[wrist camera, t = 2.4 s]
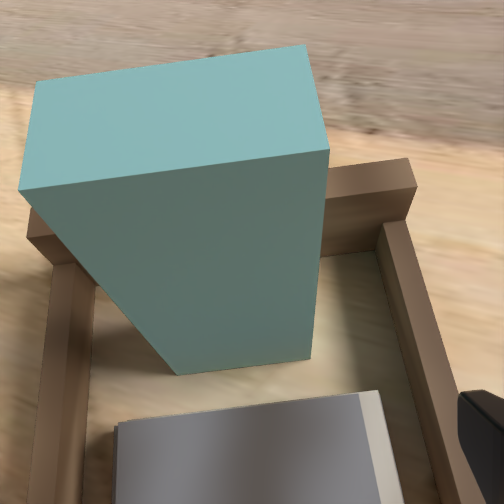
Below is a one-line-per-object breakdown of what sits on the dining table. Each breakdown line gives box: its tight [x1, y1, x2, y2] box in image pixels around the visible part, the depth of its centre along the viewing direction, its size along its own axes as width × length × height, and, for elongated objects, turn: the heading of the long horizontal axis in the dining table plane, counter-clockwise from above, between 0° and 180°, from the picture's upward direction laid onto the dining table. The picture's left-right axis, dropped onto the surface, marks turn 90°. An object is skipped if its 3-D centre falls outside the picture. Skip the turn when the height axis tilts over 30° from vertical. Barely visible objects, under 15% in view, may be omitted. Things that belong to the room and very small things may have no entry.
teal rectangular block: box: [18, 44, 330, 376], centre depth 16 cm, size 6×3×14 cm, turn 96°
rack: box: [26, 158, 486, 504], centre depth 19 cm, size 16×13×5 cm
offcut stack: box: [111, 390, 405, 504], centre depth 18 cm, size 11×5×2 cm, turn 96°
